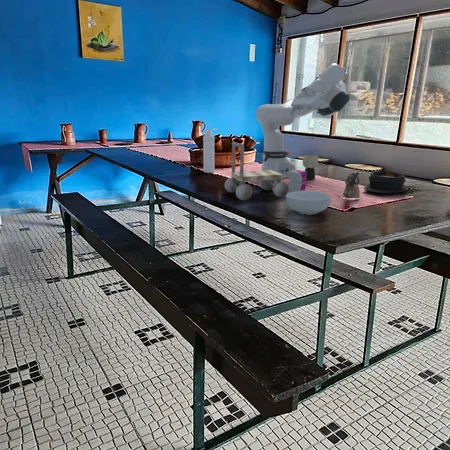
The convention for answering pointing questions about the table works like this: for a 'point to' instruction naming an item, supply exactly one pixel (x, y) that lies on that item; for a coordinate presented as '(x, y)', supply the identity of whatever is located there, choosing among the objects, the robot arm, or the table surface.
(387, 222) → the table surface
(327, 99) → the robot arm
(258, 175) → the trolley
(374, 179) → the casserole
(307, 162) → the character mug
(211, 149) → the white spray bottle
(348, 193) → the figurine
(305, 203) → the cereal bowl
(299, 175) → the supplement box
